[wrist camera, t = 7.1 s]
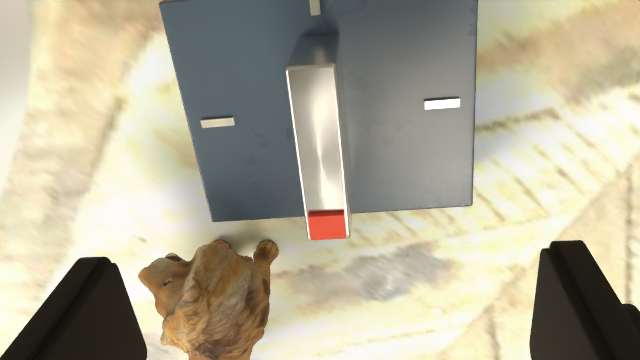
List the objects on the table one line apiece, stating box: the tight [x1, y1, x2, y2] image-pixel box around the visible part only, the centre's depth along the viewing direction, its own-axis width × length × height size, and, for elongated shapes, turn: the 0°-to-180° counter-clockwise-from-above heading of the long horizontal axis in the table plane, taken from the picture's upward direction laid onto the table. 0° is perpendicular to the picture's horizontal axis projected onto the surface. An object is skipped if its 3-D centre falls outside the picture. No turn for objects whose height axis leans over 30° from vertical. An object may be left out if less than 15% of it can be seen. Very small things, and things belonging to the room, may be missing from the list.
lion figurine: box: [138, 240, 278, 360], centre depth 26 cm, size 15×5×9 cm, turn 175°
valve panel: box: [159, 0, 478, 222], centre depth 23 cm, size 12×11×3 cm
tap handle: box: [285, 32, 352, 240], centre depth 20 cm, size 6×2×5 cm, turn 6°
